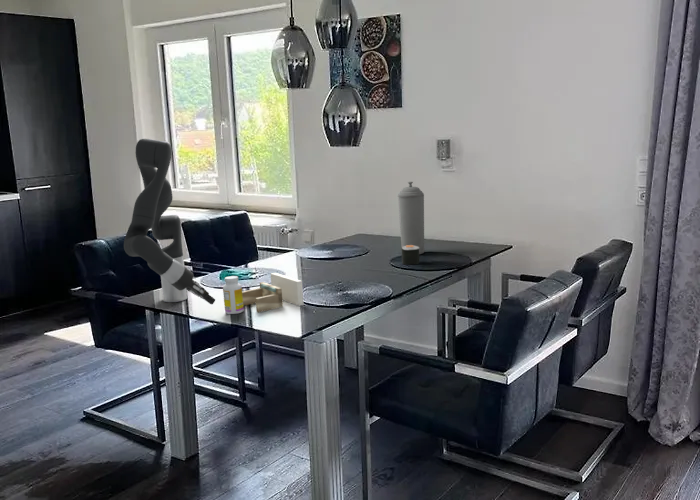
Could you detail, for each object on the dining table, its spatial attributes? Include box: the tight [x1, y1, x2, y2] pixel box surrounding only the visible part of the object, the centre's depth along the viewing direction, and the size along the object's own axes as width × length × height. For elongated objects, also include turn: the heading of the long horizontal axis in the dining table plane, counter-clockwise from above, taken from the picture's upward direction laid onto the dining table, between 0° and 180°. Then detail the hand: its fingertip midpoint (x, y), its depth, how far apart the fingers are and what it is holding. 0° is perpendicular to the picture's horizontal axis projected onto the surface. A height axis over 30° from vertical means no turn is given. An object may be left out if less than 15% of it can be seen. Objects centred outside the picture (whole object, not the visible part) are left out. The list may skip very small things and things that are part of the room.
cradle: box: [242, 281, 284, 313], centre depth 249 cm, size 14×10×7 cm
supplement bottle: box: [222, 275, 245, 315], centre depth 243 cm, size 7×7×13 cm
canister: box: [397, 181, 425, 255], centre depth 328 cm, size 13×13×35 cm
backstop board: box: [270, 272, 304, 306], centre depth 255 cm, size 20×2×9 cm, turn 35°
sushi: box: [401, 245, 420, 266], centre depth 309 cm, size 8×8×8 cm
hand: (213, 302), depth 239 cm, fingers closed
